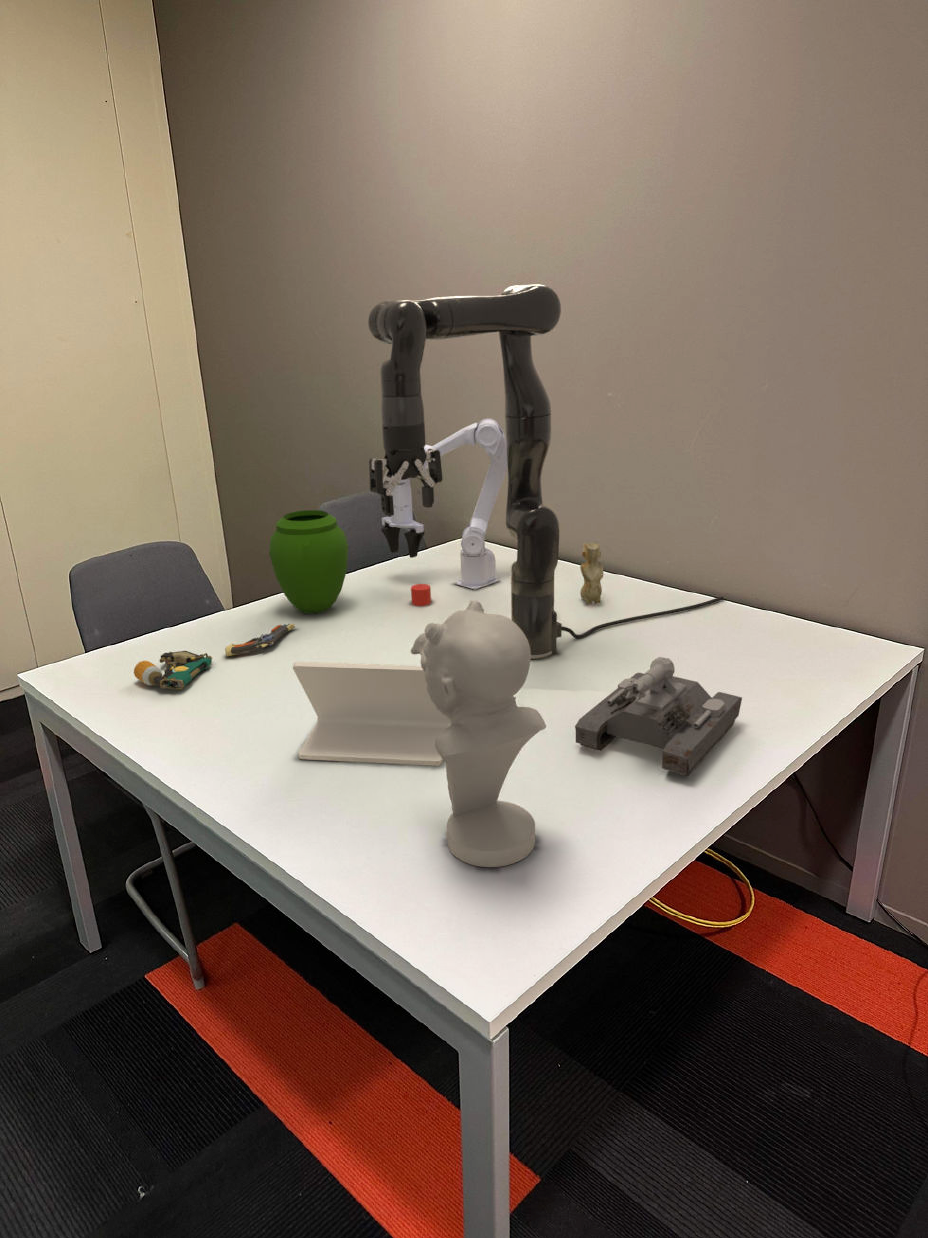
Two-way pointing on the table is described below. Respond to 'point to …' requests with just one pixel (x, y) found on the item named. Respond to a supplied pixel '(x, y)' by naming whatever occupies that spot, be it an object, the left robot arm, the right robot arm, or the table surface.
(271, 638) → the toy gun
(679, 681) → the toy
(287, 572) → the vase
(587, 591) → the sculpture
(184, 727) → the table surface
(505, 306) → the right robot arm
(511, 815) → the bust sculpture
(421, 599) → the can
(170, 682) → the multicoloured piece
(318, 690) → the tablet stand
